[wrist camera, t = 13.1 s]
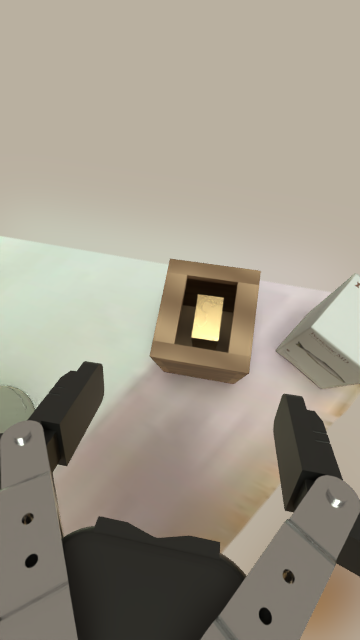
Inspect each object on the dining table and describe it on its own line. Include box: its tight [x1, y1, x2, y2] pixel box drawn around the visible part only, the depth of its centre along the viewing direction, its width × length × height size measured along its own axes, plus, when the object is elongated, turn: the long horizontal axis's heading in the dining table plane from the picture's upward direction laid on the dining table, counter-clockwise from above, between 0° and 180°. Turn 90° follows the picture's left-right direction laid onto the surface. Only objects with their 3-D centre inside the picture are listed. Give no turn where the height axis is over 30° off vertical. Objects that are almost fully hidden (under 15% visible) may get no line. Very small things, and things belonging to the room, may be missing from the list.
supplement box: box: [276, 273, 360, 389], centre depth 32 cm, size 7×7×13 cm
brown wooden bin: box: [150, 259, 261, 384], centre depth 34 cm, size 10×9×12 cm
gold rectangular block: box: [192, 294, 224, 351], centre depth 34 cm, size 4×3×10 cm, turn 171°
